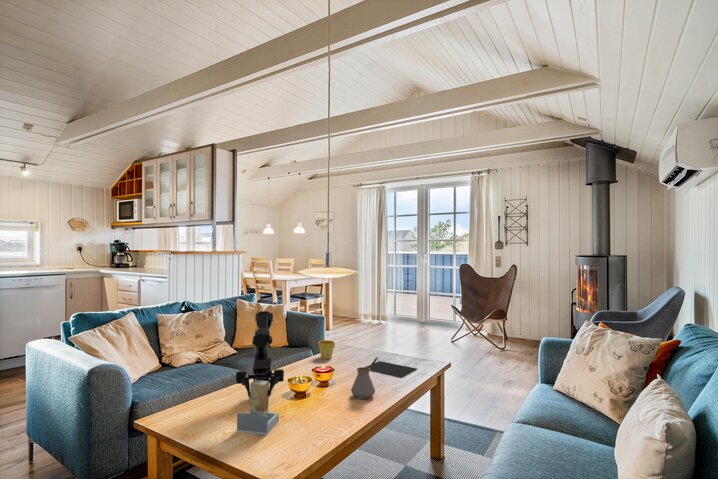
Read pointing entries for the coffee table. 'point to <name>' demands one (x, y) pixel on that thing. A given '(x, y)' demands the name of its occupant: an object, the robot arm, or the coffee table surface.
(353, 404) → the coffee table surface
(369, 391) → the coffee pot
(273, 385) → the robot arm
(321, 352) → the plant pot
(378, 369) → the tablet
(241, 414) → the seat tray
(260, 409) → the skincare box
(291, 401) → the coffee table surface
